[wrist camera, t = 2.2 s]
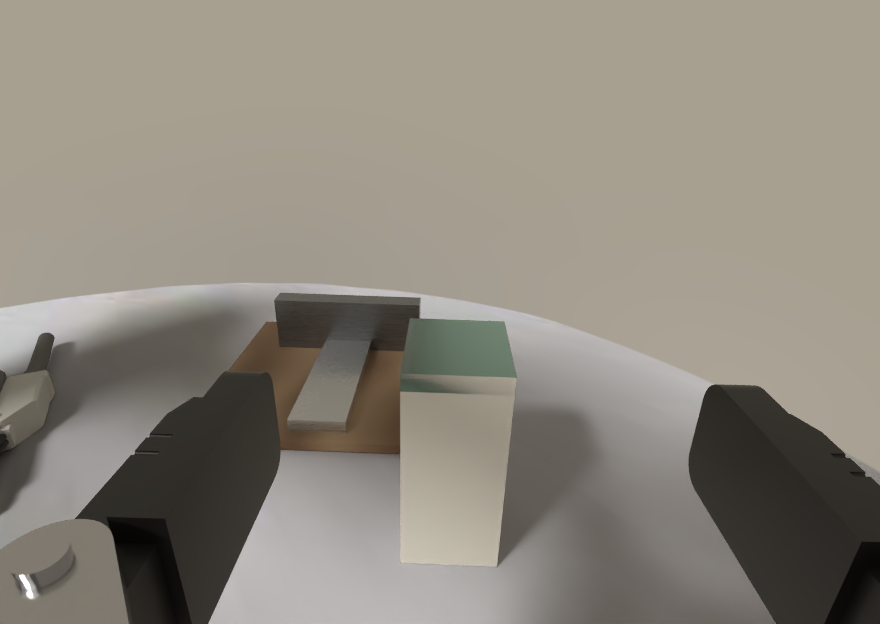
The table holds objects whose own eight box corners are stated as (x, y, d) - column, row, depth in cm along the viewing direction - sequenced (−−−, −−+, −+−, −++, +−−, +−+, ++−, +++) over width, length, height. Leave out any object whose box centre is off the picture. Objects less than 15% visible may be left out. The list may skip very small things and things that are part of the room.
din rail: (288, 430, 31) (287, 419, 31) (335, 329, 44) (335, 320, 44) (346, 432, 31) (345, 421, 31) (377, 330, 44) (376, 322, 44)
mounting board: (178, 445, 30) (176, 437, 30) (267, 328, 45) (266, 321, 45) (449, 455, 30) (449, 447, 30) (450, 334, 45) (450, 328, 45)
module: (400, 562, 24) (400, 373, 19) (408, 485, 28) (410, 318, 24) (497, 566, 24) (516, 377, 19) (489, 488, 28) (504, 321, 24)
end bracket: (279, 346, 41) (274, 300, 39) (285, 338, 42) (280, 292, 40) (418, 351, 41) (419, 305, 39) (419, 343, 42) (420, 297, 40)
